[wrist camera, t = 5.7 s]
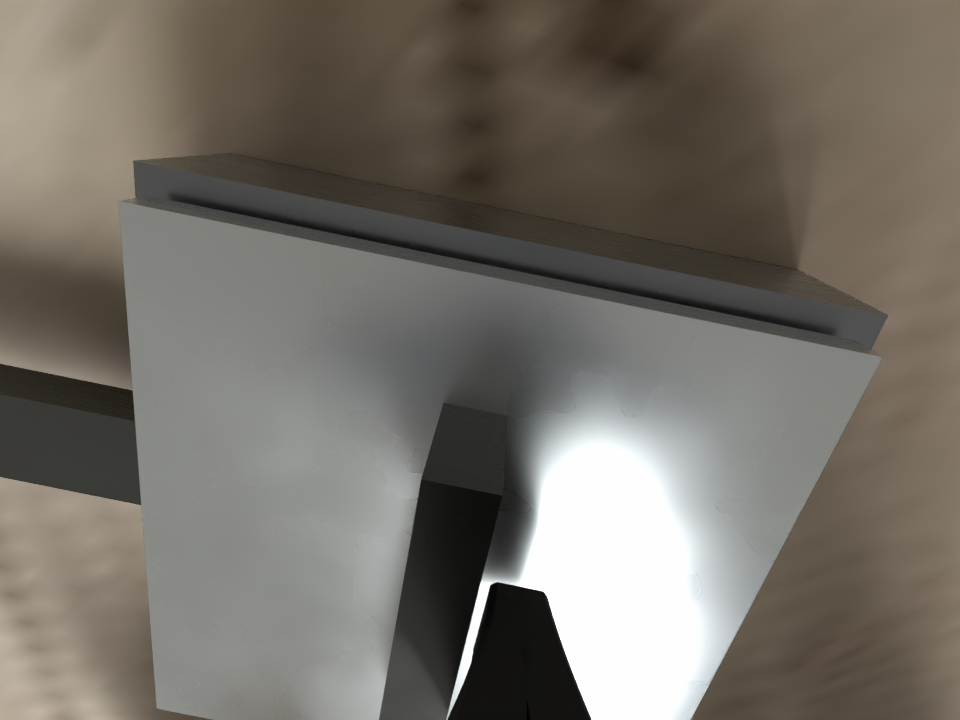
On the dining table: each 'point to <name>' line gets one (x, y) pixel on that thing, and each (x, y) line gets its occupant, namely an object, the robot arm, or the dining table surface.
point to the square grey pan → (403, 223)
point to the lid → (448, 468)
